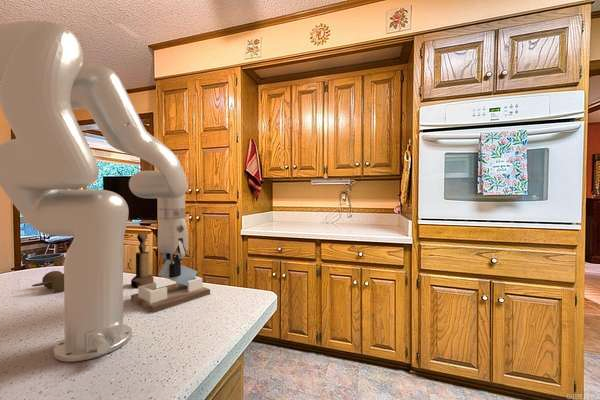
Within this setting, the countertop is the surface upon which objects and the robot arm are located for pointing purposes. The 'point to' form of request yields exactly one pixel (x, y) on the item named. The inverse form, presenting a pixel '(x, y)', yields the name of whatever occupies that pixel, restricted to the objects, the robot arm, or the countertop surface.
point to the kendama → (53, 281)
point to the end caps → (164, 290)
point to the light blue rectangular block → (185, 275)
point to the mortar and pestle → (142, 264)
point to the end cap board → (171, 297)
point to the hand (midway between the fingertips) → (171, 274)
